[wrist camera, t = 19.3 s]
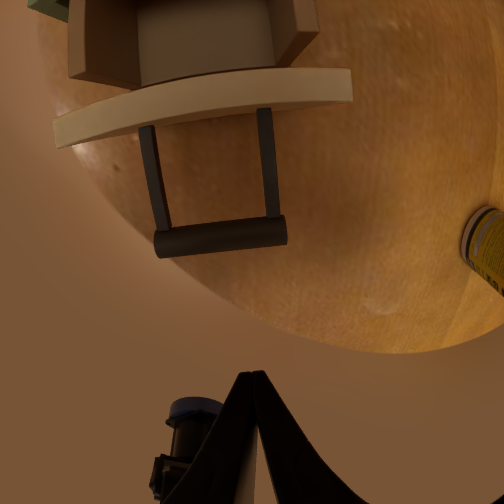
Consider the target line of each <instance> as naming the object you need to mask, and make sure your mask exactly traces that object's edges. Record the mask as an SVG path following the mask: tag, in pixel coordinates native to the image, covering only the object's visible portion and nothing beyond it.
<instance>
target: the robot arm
mask: <svg viewBox="0 0 504 504" xmlns="http://www.w3.org/2000/svg"><path fill="white" fill-rule="evenodd" d="M165 423H166V424H167V425H168V426H170V427H172V428H173V429H174V432H173V439H172V446H171V453H170V456H167V455H165V454H161V455H160V457H155V462H154V467H153V472H152V476H151V479H150V483H149V487H150V488H151V490H152V491H153V494H154V500H157V501H160V504H253V503H254V487H255V472H256V455H257V437H258V428H259V433H260V437H261V441H262V446H263V450H264V454H265V458H266V462H267V466H268V470H269V474H270V477H271V481H272V485H273V489H274V493H275V497H276V500H277V504H369V503H367V502H366V501H364V500H363V499H362V498H360V497H359V496H358V495H357V494H355V493H354V492H353V491H352V490H351V489H350V488H349V487H348V486H347V485H346V484H345V483H344V482H343V481H342V480H341V479H340V478H339V477H338V476H337V475H336V474H335V473H334V472H333V471H332V470H331V469H330V468H329V467H328V465H327V464H326V463H325V462H324V461H323V460H322V459H321V457H320V456H319V455H318V453H317V452H316V450H315V449H314V448H313V446H312V445H311V443H310V442H309V441H308V439H307V438H306V436H305V434H304V433H303V431H302V430H301V428H300V427H299V425H298V424H297V422H296V421H295V419H294V418H293V416H292V415H291V413H290V411H289V410H288V408H287V407H286V405H285V404H284V402H283V401H282V399H281V397H280V396H279V394H278V392H277V391H276V389H275V388H274V386H273V384H272V383H271V381H270V379H269V378H268V376H267V375H266V373H265V371H263V370H259V371H253V372H252V373H251V372H241V373H239V374H238V376H237V378H236V380H235V383H234V384H233V386H232V388H231V390H230V392H229V394H228V396H227V398H226V400H225V402H224V404H223V406H222V408H221V410H220V412H219V414H218V416H217V418H216V417H214V416H212V415H211V414H209V413H208V412H206V411H205V410H203V409H197V410H194V411H192V412H189V413H186V414H183V415H180V416H177V417H173V418H170V419H167V420H166V422H165ZM165 470H166V471H165ZM491 504H504V494H503V495H502V496H500V497H499V498H498V499H496V500H495V501H493V502H492V503H491Z"/></svg>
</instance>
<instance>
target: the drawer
mask: <svg viewBox="0 0 504 504" xmlns="http://www.w3.org/2000/svg"><path fill="white" fill-rule="evenodd" d="M319 32H320V27H319V21H318V15H317V9H316V4H315V0H70V1H69V17H68V69H69V78H71V79H78V80H84V81H90V82H96V83H101V84H106V85H111V86H116V87H121V88H125V89H130V90H133V91H131V92H128V93H124V94H121V95H118V96H114V97H111V98H108V99H105V100H102V101H99V102H96V103H93V104H90V105H88V106H85V107H82V108H80V109H77V110H74V111H72V112H69V113H67V114H64V115H62V116H60V117H57V118H55V119H53V128H54V135H55V141H56V147H57V149H59V148H64V147H67V146H72V145H76V144H80V143H85V142H89V141H94V140H99V139H104V138H109V137H114V136H120V135H126V134H131V133H135V132H139V139H140V145H141V151H142V157H143V163H144V169H145V174H146V180H147V185H148V190H149V195H150V200H151V204H152V209H153V214H154V218H155V223H156V227H157V230H156V231H155V233H154V249H155V252H156V255H157V256H158V258H160V259H161V258H170V257H180V256H189V255H198V254H207V253H216V252H225V251H235V250H244V249H253V248H262V247H272V246H281V245H287V241H288V237H287V226H286V220H285V216H284V215H280V201H279V188H278V176H277V164H276V153H275V142H274V131H273V121H272V111H284V110H304V109H310V108H316V107H322V106H328V105H335V104H342V103H350V102H353V101H354V98H353V87H352V78H351V70H350V69H344V68H318V67H295V68H288V67H289V65H290V64H291V63H292V62H293V61H294V60H295V58H296V57H297V56H298V55H299V54H300V53H301V52H302V51H303V50H304V48H305V47H306V46H307V45H308V44H309V43H310V42H311V41H312V40H313V39H314V38H315V37H316V36H317V35H318V34H319ZM246 113H256V116H257V126H258V135H259V145H260V155H261V165H262V175H263V186H264V196H265V207H266V216H263V217H254V218H244V219H236V220H227V221H218V222H210V223H202V224H194V225H186V226H178V227H172V223H171V218H170V214H169V209H168V204H167V198H166V193H165V188H164V182H163V177H162V171H161V165H160V159H159V153H158V147H157V140H156V134H155V128H157V127H162V126H167V125H172V124H177V123H183V122H188V121H194V120H200V119H207V118H214V117H221V116H229V115H237V114H246Z"/></svg>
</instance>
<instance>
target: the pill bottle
mask: <svg viewBox="0 0 504 504" xmlns="http://www.w3.org/2000/svg"><path fill="white" fill-rule="evenodd" d="M461 249H462V255H463V258H464V260H465V262H466V263H467V264H468V265H469V266H470V267H471V268H472V269H473V270H474V271H475V272H476V273H478V274H479V275H480V276H481V277H482V278H483V279H484V280H486V281H487V282H488V283H489V284H490V285H491V286H492V287H493V288H494V289H495V290H496V291H497V292H499V293H500V294H501V295H502V296H503V297H504V212H503V211H501V210H499V209H497V208H495V207H492V206H486V207H483V208H481V209H479V210H478V211H477V212H476V213H475V214H474V215H473V216H472V218H471V219H470V221H469V223H468V225H467V227H466V229H465V232H464V235H463V239H462V246H461Z"/></svg>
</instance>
